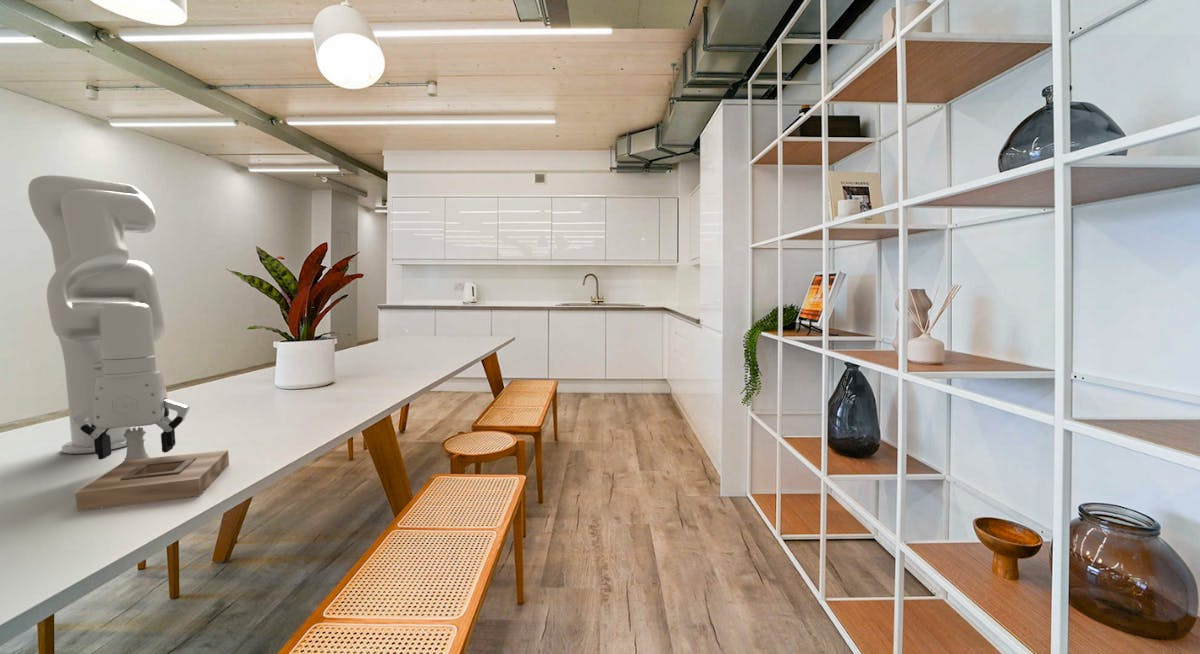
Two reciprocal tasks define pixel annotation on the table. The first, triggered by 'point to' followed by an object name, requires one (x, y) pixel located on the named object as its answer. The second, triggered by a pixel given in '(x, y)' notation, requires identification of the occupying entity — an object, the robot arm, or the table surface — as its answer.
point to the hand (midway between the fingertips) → (137, 453)
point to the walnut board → (153, 480)
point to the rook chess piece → (135, 444)
